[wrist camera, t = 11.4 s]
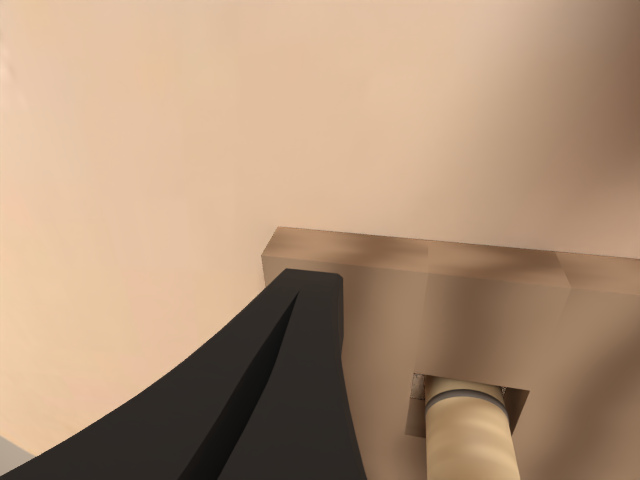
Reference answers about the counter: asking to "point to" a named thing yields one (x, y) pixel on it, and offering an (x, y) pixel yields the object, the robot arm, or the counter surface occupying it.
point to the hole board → (484, 346)
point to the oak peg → (467, 431)
